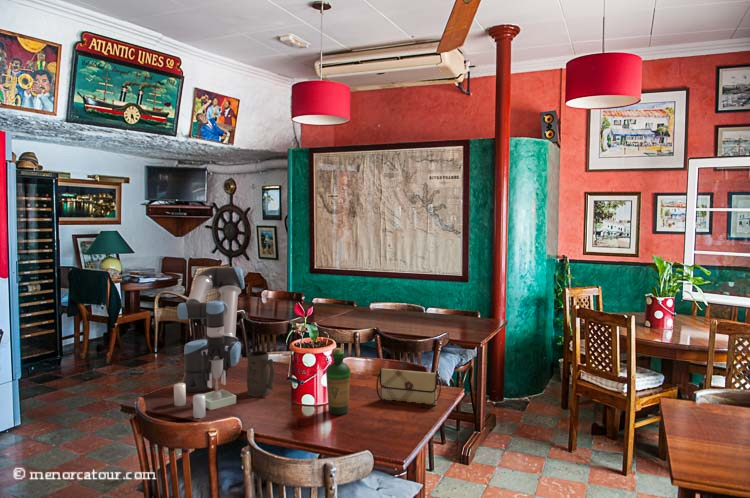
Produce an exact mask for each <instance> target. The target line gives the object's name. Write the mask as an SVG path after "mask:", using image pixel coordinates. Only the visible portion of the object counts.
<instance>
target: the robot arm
mask: <svg viewBox="0 0 750 498" xmlns="http://www.w3.org/2000/svg"><path fill="white" fill-rule="evenodd" d="M244 289H245V277H244V271H243V269H242V268H241V267H238V266H237V267H236V266H231V267H230V266H229V267H228V266H227V267H209V268H207V269H205V270H203V271H201V272H200V273H199V274H198V275H197V276H196V277H195V278H194V281H193V287H192V289H191V291H190V293H189V296H188V298H187V300H186V301H185V302H180V303H179V304H178V305H177V309H176V310H177V311H176V312H177V318H178V319H179V320H201V319H202V320H203V319H204V320H206V335H207V337H206V339H205V338H203V339H195V340H192V341H189V342H187V343H185V345H184V350H183V356H184V357H183V359H184V360H183V361H184V363H183V364H184V374H183V378H182V381H181V383H185V384H186V393H199V392H204V391H208V390H211V389H212V388H213V387H214V380H213V376H212V374H211V372H210V370H211V367H212V364H211V361H209V360H212V361H213V359H214V357H215V356H219V359H220V360H221V359H223V358H224V359H223V370H222V373H221V376H220V378H221V384H222V385H224V386H225V385H226V382H227V381H226V380H227V379H226V378H227V377H228V371H229V369H231V368H232V366H236V365H238V364H239V361H240V358H241V351H242V350H241V349H242V344H241V342H240V341H239V338H238V337H236V333H237V332H236V331H237V319H238V318H237V317H238V316H237V315H238V314H237V313H238V304H239V303H238V301H239V300H238V299H239V295H240V294H241V293H242V290H244ZM211 290H218V292H219V293H220V300H211V301H207V302H205V300H206V297H207V295H208V293H209V292H210V291H211ZM208 359H209V360H208Z"/></svg>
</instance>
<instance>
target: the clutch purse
mask: <svg viewBox="0 0 750 498" xmlns="http://www.w3.org/2000/svg"><path fill="white" fill-rule="evenodd" d="M438 383H439V390H438V389H437V388H438V386H437V385H438ZM378 385H380V393H379V387H378ZM441 387H442V383H441V379H440V377H439V373H438V372H428V371H415V370H404V369H403V370H402V369H394V368H381V367H380V369H379V371H377V378H376V387H375V388H376V394H377V397H378V398H379V399H380V400H381V401H383V402H385V403H387V404H390V403H392V400H396V401H395V402H401V401H407V402H406V403H411V402H416V403H415V404H421V403H425V404H424V405H427V406H424V407H425V408H424V409H427V408H429V407H431V406H436V405H437V401H438V400H439V397H440V396H441V389H442V388H441ZM437 390H438V391H439V392H438V396H437ZM384 399H385V400H384ZM430 404H431V405H430Z"/></svg>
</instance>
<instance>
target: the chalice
mask: <svg viewBox="0 0 750 498" xmlns="http://www.w3.org/2000/svg"><path fill="white" fill-rule="evenodd" d="M223 359H224V358H223ZM223 359H221V360H220V359H219V356H215V357H214V359H213V361H212V360H209V359H208V360H209V361H211V364H212V367H211V370H210V373H211V374H212V379H214V380H215V382H214V384H215V386H214V388H215V390H214V391H215V392H213V391H212V392H213V395H212V397H211V398H212V399H220V398H222V397H223V396H222V394H221V392H220V391H218V390H219V388H220V386H219V379H220V378H221V373H222V370H223Z"/></svg>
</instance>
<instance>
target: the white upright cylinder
mask: <svg viewBox="0 0 750 498" xmlns="http://www.w3.org/2000/svg"><path fill="white" fill-rule="evenodd" d="M186 393H187V392H186V384H185V383H182V382H178V383H175V384H173V402H174V403H173V405H174V406H175V407H182V406H186V404H187V394H186Z"/></svg>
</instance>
